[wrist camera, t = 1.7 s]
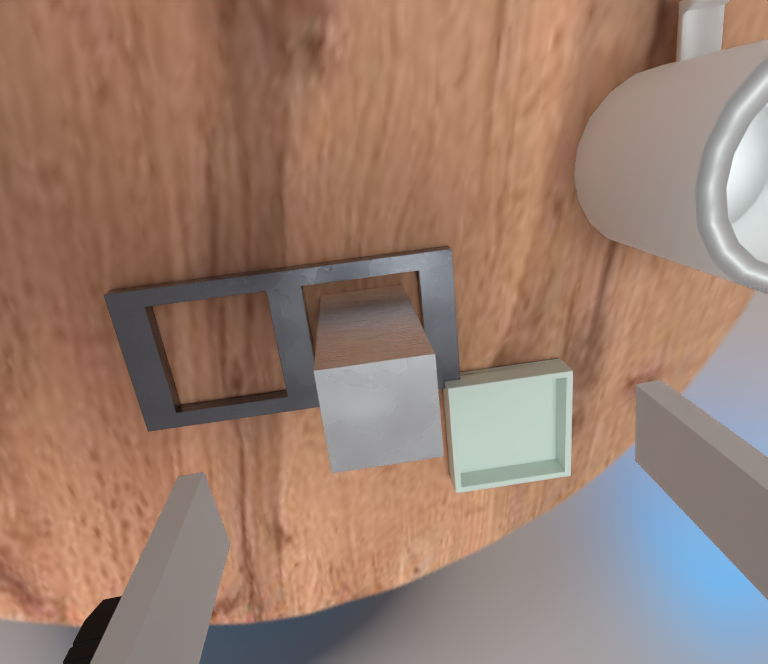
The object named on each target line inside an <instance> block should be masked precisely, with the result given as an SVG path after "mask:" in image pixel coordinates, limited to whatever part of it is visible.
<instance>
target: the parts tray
mask: <svg viewBox="0 0 768 664" xmlns="http://www.w3.org/2000/svg"><path fill="white" fill-rule="evenodd" d="M572 391H573V370H572V369H571V368H570V367H568V366H567V365H566V364H565V363H564V362H563V361H562V360H561V359H560V358H558V359H551V360H544V361H537V362H530V363H523V364H516V365H509V366H502V367H495V368H488V369H481V370H474V371H467V372H460V380H453V381H446V382H445V389H443V396H444V409H445V421H446V434H447V446H448V459H449V471H450V477H451V480H452V483H453V486H454V489H455V492H456V493H460V492H467V491H473V490H480V489H486V488H493V487H500V486H506V485H513V484H519V483H526V482H532V481H539V480H545V479H552V478H558V477H565V476H571V433H572Z"/></svg>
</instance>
